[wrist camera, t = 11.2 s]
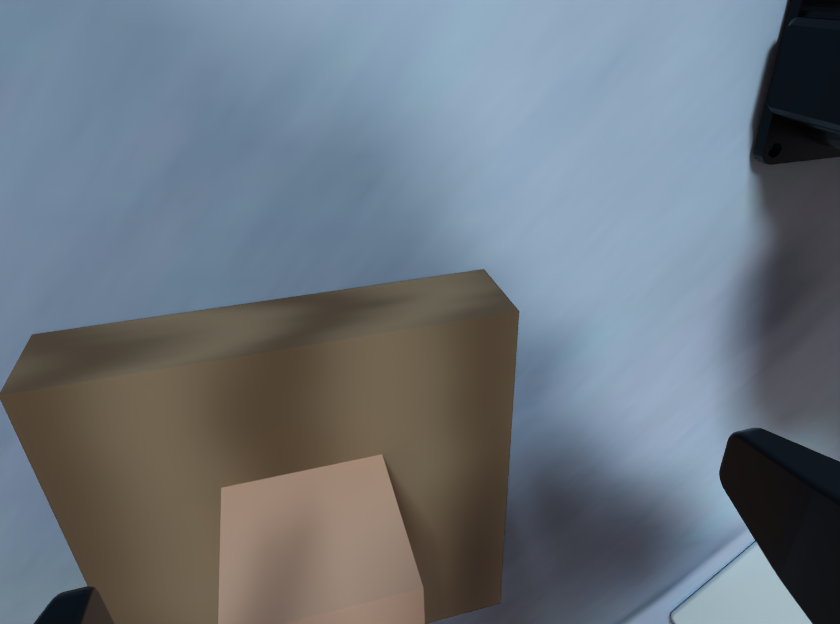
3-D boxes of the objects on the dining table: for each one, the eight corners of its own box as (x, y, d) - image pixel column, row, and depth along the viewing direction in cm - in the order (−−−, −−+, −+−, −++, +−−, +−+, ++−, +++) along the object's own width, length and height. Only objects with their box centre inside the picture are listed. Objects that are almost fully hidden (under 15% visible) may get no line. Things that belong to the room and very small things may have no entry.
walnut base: (484, 269, 21) (519, 310, 18) (475, 545, 28) (499, 603, 25) (32, 334, 18) (-2, 395, 15) (151, 625, 25) (141, 700, 22)
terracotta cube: (382, 454, 19) (423, 587, 15) (390, 557, 22) (427, 696, 18) (221, 488, 18) (217, 641, 14) (249, 592, 21) (253, 749, 17)
